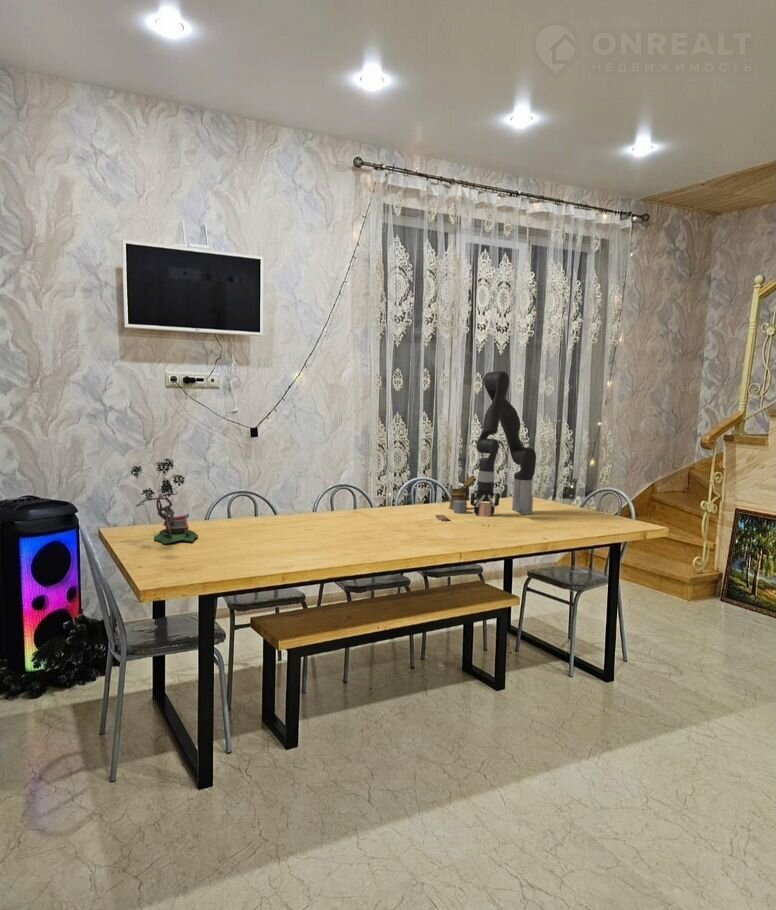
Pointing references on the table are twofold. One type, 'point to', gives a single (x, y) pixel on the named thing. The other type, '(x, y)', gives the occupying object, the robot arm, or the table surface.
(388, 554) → the table surface
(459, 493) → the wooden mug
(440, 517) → the walnut coaster
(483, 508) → the terracotta cup
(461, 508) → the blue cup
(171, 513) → the bonsai tree
